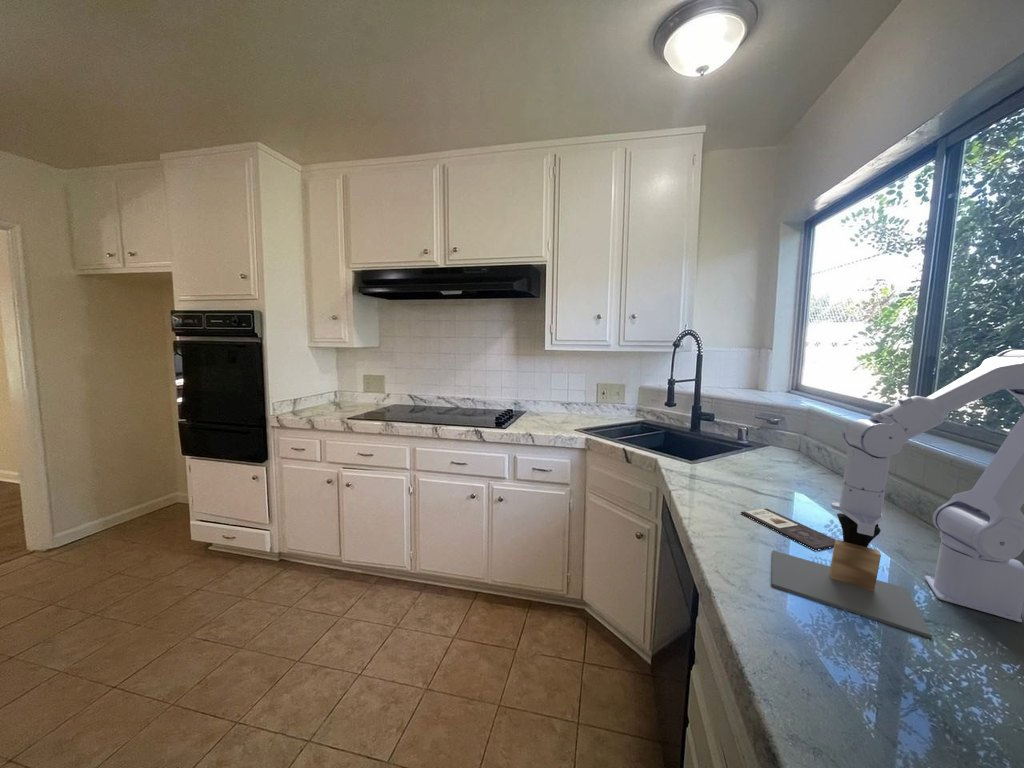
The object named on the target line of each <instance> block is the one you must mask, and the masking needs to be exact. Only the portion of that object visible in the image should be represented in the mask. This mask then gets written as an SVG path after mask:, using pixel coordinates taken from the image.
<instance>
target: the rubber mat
mask: <svg viewBox="0 0 1024 768" xmlns="http://www.w3.org/2000/svg"><path fill="white" fill-rule="evenodd" d="M771 553H772V554H771V587H773V588H776V589H778V590H783V591H786V592H788V593H791V594H794V595H798V596H800V597H804V598H806V599H810V600H812V601H816V602H819V603H822V604H825V605H828V606H830V607H834V608H837V607H838V609H840V608H841V610H843V609H845V610H844V611H846V610H848V611H847V612H849V611H850V613H852V612H854V613H853V614H855V613H856V615H858V614H860V615H859V616H861V615H862V616H861V617H864V616H865V618H867V617H868V619H870V618H871V619H870V620H873V619H874V621H877V620H878V621H877V622H880V623H883V624H886V625H888V626H892V627H894V628H898V629H901V630H905V631H908V632H910V633H913V634H916V635H920V636H922V637H926V638H929V639H932V637H933V635H932V632H931V631H930V629H929V627H928V625H927V623H926V621H925V620H924V618H923V616H922V615H921V612H920V610H919V609H918V607H917V605H916V603H915V602H914V600H913V598H912V596H911V594H910V593H909V591H908V589H907V588H906V587H904V586H900V585H896V584H893V583H889V582H885V581H882V580H878V579H876V585H875V590H874V591H872V590H868V589H865V588H862V587H858V586H855V585H852V584H848V583H845V582H841V581H838V580H835V579H831V578H830V568H831V565H830V566H829V565H827V564H826V565H825V564H823V563H819V562H816V561H813V560H808V559H805V558H802V557H798V556H794V555H790V554H787V553H785V552H779V551H776V550H772V551H771Z"/></svg>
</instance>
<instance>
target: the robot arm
mask: <svg viewBox="0 0 1024 768" xmlns="http://www.w3.org/2000/svg"><path fill="white" fill-rule="evenodd" d="M1001 390H1006V391H1007V392H1008V393H1010V394H1011V395H1012V396H1014V397H1015V398H1016V399H1017V400H1018V401H1019V402H1020V404H1021V405H1022V406H1023V408H1024V349H1021V348H1009V349H1005V350H1003V351H1001V352H998V353H996V354H995V356H991V357H987V358H986V359H984V360H983V361H982V362H981V364H980V365H979V366H978V367H976V368H975V369H973V370H971V371H969V372H968V373H966V374H964V375H962V376H961V377H958V379H956V380H954V381H952V382H950V383H948V384H947V385H945V386H943V387H942V388H940V389H938V390H937V391H935V392H933V393H932V394H930V395H928V396H926V397H925V396H920V395H911V396H910V397H909V396H903V397H902V396H901V398H899V399H897V401H898V403H897V404H894V405H892V406H890V407H889V408H886V409H884V410H883V411H881V412H874V413H872V414H870V418H869V419H866V418H864V419H861V418H860V419H856V420H854V421H852V422H850V424H849V423H848V426H847V427H846V428H845V430H844V431H842V432H841V436H842V439H843V440H842V441H844V443H845V444H846V447H847V448H846V449H847V450H846V458H845V459H846V460H845V467H844V473H843V480H842V486H841V488H842V489H841V495H840V501H839V502H834V501H833V502H831V503H830V507H831V509H834V510H837V511H839V512H838V513H837V514H836V515H837V518H838V522H839V523H840V526H841V531H842V532H841V533H842V541H844V542H848V543H852V544H856V545H860V546H864V547H868V548H869V545H870V543H871V542H872V541H873V539H875V538H876V537H877V536H878V535H880V533H881V528H880V527H879V523H880V522H881V521H882V520H883V516H884V515H883V514H882V513H883V507H884V499H885V494H886V488H887V487H886V486H887V483H888V482H887V481H888V476H889V470H890V464H891V458H892V456H895V455H897V454H899V453H900V452H901V450H903V447H904V444H905V443H907V442H909V440H910V439H913V438H915V437H918V436H919V435H921V434H923V433H925V432H927V431H929V430H931V429H933V428H935V427H937V426H939V425H941V424H943V422H944V421H945V418H946V417H945V416H946V413H949V412H952V411H953V410H955V409H958V408H960V407H962V406H964V405H967V404H969V403H972V402H974V401H977V400H979V399H981V398H984V397H986V396H988V395H991V394H993V393H995V392H998V391H1001ZM1023 504H1024V412H1023V413H1022V414H1021V416H1020V417H1019V419H1018V420H1017V421H1016V424H1015V425H1014V426H1013V427H1012V429H1011V431H1010V432H1009V434H1008V435H1007V437H1006V438H1005V439H1004V441H1003V443H1002V444H1001V445H1000V447H999V449H998V450H997V452H996V453H995V455H994V456H993V458H992V459H991V461H990V462H989V463H988V465H987V466H986V468H985V469H984V471H983V473H982V474H981V475H980V477H979V478H978V480H977V481H976V483H975V485H974V486H973V488H971V489H969V490H966V491H962V492H957V493H955V494H952V497H951V498H950V499H949V500H948V501H947V502H946V503H944V504H942V505H940V506H939V507H938V508H937V509H936V510H935V511H934V513H933V516H932V521H933V525H934V527H935V528H936V529H937V530H938V531H939V538H940V539H941V540H940V546H939V551H938V557H937V562H936V566H935V567H936V568H935V572H934V577H933V576H931V575H930V576H929V575H924V579H925V580H926V582H927V584H928V586H929V587H930V588H931V590H932V592H933V593H934V595H935V597H936V598H937V599H938V600H941V601H945V602H948V603H952V604H955V605H959V606H963V607H964V608H965V607H966V608H969V609H972V610H975V611H976V610H977V611H978V612H979V611H980V612H983V613H987V614H991V615H995V616H996V617H997V616H998V617H1000V618H1003V619H1008V620H1011V621H1014V622H1018V623H1022V622H1023V619H1022V617H1021V614H1022V610H1023V606H1024V605H1023V604H1024V564H1023V563H1022V562H1021V560H1018V559H1015V558H1017V557H1019V556H1020V555H1021V554H1022V552H1023V551H1024V514H1023V512H1022V511H1021V508H1022V507H1023ZM984 513H985V514H984Z"/></svg>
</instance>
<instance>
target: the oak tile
mask: <svg viewBox="0 0 1024 768" xmlns="http://www.w3.org/2000/svg"><path fill="white" fill-rule="evenodd" d="M834 539H835V538H834ZM881 558H882V554H881V551H880V550H878V549H875V548H871V547H869V546H868V547H864V546H860V545H856V544H852V543H848V542H844V541H843V540H840V539H835V544H834V548H833V550H832V557H831V563H830V567H831V568H830V578H831V579H835V580H838V581H841V582H845V583H848V584H852V585H855V586H858V587H862V588H865V589H868V590H872V591H874V590H875V585H876V580H878V579H877V578H878V572H879V568H880V564H881V563H880V562H881Z"/></svg>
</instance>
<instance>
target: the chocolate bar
mask: <svg viewBox="0 0 1024 768" xmlns="http://www.w3.org/2000/svg"><path fill="white" fill-rule="evenodd" d="M741 513H742V514H744V515H746V516H748V517H750V518H752V519H754V520H756V521H758V522H760V523H762V524H764V525H766V526H768V527H770V528H772V529H774V530H776V531H778V532H779V533H778V532H777V533H778V534H780V533H782V534H783V535H782V534H781V535H782V536H784V535H786V536H788V537H789V538H788V537H787V538H788V539H790V538H791V539H790V540H792V539H793V540H792V541H794V540H795V541H794V542H796V541H797V542H796V543H798V542H800V543H802V544H804V545H806V546H808V547H810V548H812V549H814V550H818V549H824V548H829V547H834V544H835V538H833V537H831V536H829V535H827V534H825V533H822V532H819V531H818V530H815V529H814V528H811V527H808V526H807V525H804V524H803V523H800V522H798V521H795V520H793V519H791V518H789V517H787V516H785V515H782V514H780V513H778V512H776V511H774V510H772V509H769V508H761V509H759V508H758V509H754V510H753V509H752V510H746V511H745V510H744V511H740V514H741ZM742 514H741V515H742ZM744 515H743V516H744ZM746 516H745V517H746ZM748 517H747V518H748ZM750 518H749V519H750ZM752 519H751V520H752ZM754 520H753V521H754ZM756 521H755V522H756ZM758 522H757V523H758ZM760 523H759V524H760ZM762 524H761V525H762ZM764 525H763V526H764ZM766 526H765V527H766ZM768 527H767V528H768ZM770 528H769V529H770ZM772 529H771V530H772ZM774 530H773V531H774ZM776 531H775V532H776ZM786 536H785V537H786ZM800 543H799V544H800ZM802 544H801V545H802ZM804 545H803V546H804ZM806 546H805V547H806ZM808 547H807V548H808ZM810 548H809V549H810ZM812 549H811V550H812ZM829 549H830V548H829ZM814 550H813V551H814ZM824 550H825V549H824Z"/></svg>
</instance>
